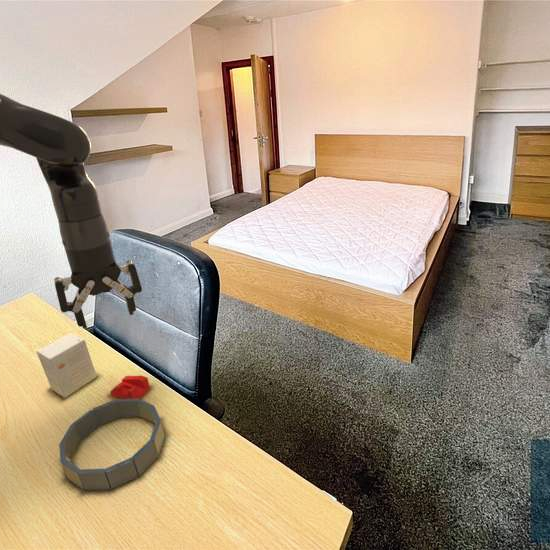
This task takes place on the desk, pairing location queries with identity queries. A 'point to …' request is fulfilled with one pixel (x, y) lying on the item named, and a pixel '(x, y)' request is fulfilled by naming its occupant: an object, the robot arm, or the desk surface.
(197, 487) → the desk surface
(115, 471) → the grey segmented ring
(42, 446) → the desk surface
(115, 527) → the desk surface
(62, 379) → the small box
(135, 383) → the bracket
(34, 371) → the desk surface
